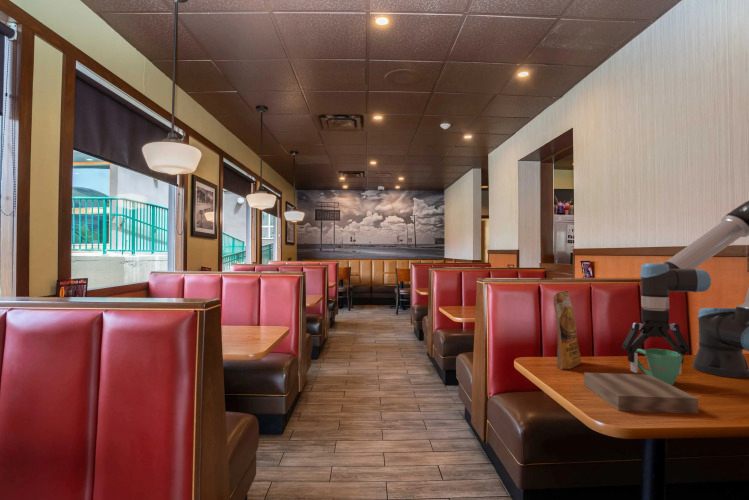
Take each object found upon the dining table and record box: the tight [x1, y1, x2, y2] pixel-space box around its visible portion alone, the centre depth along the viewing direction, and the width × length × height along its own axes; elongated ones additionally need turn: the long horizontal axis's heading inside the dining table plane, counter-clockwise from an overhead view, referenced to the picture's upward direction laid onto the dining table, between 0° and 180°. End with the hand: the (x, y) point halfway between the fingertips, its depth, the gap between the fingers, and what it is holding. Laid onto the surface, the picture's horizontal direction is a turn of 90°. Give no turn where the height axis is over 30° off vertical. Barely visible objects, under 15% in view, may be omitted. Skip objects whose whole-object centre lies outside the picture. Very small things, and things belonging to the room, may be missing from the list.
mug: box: [635, 348, 683, 386], centre depth 125 cm, size 15×10×10 cm
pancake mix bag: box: [553, 291, 582, 370], centre depth 143 cm, size 7×19×28 cm, turn 132°
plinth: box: [583, 372, 699, 415], centre depth 110 cm, size 20×20×4 cm
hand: (655, 372), depth 125 cm, fingers open, 13 cm apart
